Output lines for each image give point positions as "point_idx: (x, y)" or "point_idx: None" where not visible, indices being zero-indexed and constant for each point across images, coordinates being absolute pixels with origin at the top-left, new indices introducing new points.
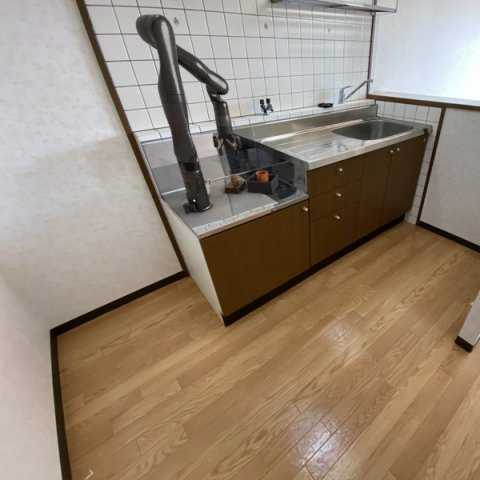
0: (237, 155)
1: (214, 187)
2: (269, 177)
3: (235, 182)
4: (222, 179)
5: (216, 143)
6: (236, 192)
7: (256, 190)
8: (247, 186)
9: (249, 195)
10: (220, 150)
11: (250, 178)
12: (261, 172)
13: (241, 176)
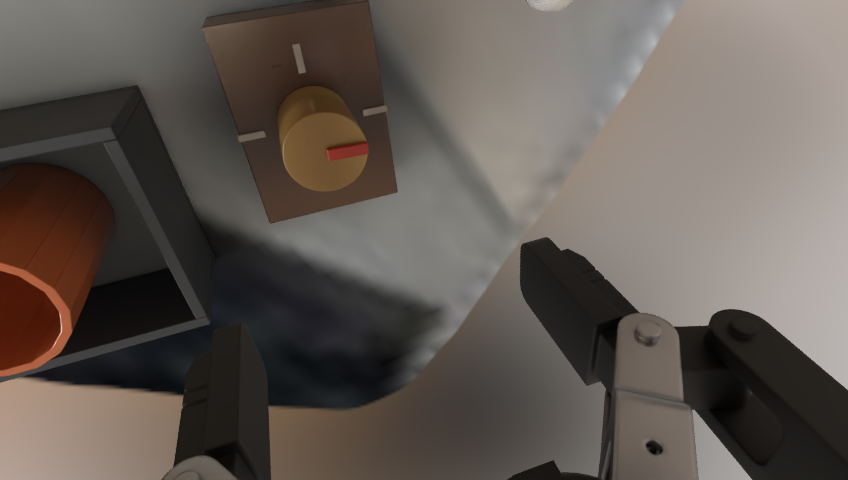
0: (200, 364)
1: (511, 59)
2: None
3: (288, 107)
4: (521, 211)
5: (754, 424)
6: (231, 14)
7: (20, 112)
8: (122, 104)
9: (44, 9)
10: (580, 307)
11: (143, 215)
12: (50, 340)
13: (416, 305)
